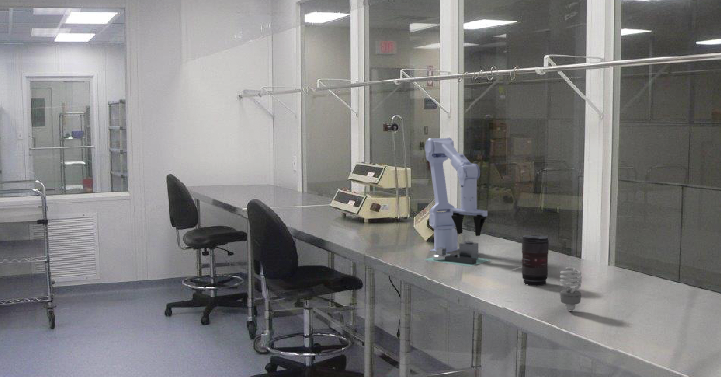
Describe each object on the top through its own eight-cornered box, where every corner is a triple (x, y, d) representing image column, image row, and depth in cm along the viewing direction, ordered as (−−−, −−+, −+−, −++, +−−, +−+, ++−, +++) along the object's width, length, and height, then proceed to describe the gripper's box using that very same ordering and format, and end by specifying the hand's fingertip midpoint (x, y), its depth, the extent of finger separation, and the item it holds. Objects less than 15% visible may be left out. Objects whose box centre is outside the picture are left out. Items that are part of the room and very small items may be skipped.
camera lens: (548, 287, 229) (549, 238, 228) (521, 286, 231) (522, 238, 230) (547, 281, 237) (548, 234, 236) (521, 280, 239) (521, 233, 238)
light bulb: (556, 308, 204) (556, 265, 203) (576, 308, 204) (577, 264, 203) (563, 314, 198) (564, 269, 197) (584, 313, 199) (585, 268, 197)
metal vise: (478, 262, 267) (478, 251, 267) (469, 265, 263) (469, 253, 262) (439, 257, 278) (439, 246, 278) (429, 259, 274) (429, 248, 273)
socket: (466, 257, 277) (466, 239, 276) (478, 259, 274) (478, 241, 273) (459, 259, 273) (459, 241, 272) (471, 261, 270) (471, 243, 269)
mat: (446, 254, 285) (446, 253, 285) (492, 260, 272) (492, 259, 272) (422, 260, 274) (422, 259, 274) (469, 267, 261) (469, 266, 261)
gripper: (445, 197, 273) (445, 234, 274) (480, 199, 263) (480, 238, 265) (456, 195, 278) (456, 231, 279) (490, 197, 269) (490, 235, 270)
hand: (468, 234), depth 272 cm, fingers open, 7 cm apart
